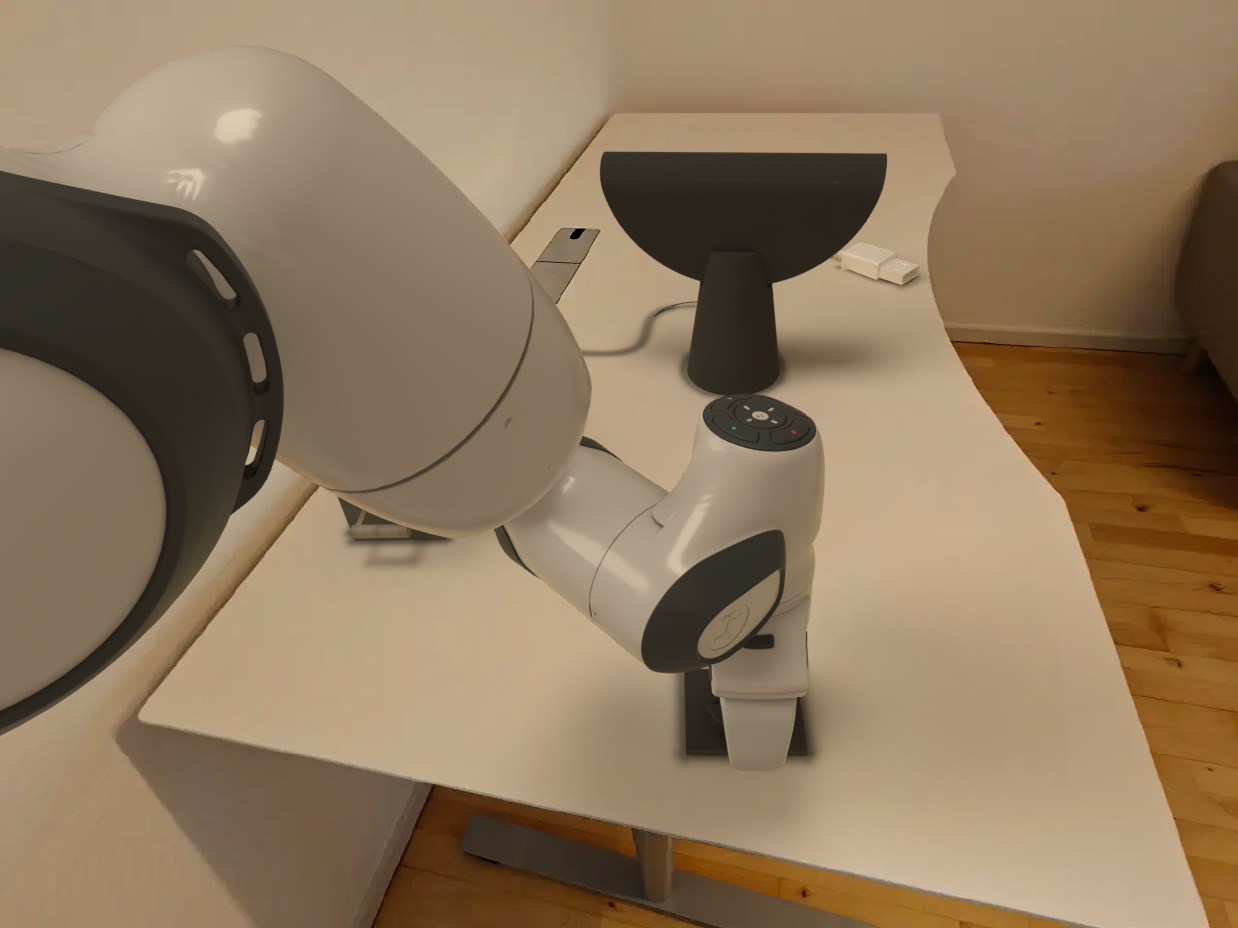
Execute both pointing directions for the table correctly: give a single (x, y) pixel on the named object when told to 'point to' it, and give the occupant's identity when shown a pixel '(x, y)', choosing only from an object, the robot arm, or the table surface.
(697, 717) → the block
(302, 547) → the table surface
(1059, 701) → the table surface
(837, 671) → the table surface
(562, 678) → the table surface
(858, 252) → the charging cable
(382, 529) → the drawer
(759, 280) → the table lamp
